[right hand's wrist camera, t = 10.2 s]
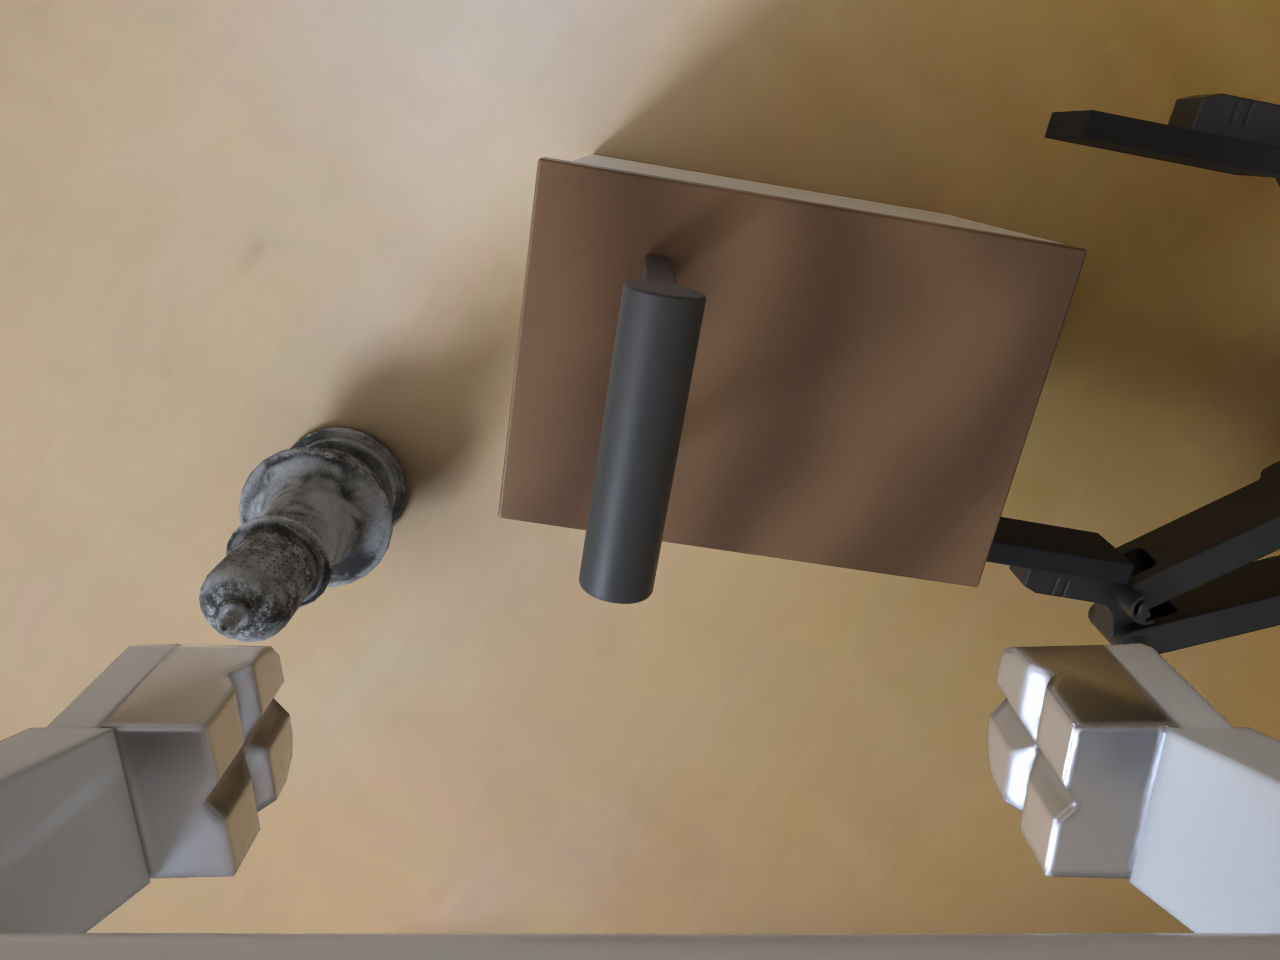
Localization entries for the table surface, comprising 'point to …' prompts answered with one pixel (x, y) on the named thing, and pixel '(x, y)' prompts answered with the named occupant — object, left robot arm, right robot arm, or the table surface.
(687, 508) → the lid
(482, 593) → the table surface
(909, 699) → the table surface
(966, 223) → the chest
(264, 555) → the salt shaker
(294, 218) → the table surface
